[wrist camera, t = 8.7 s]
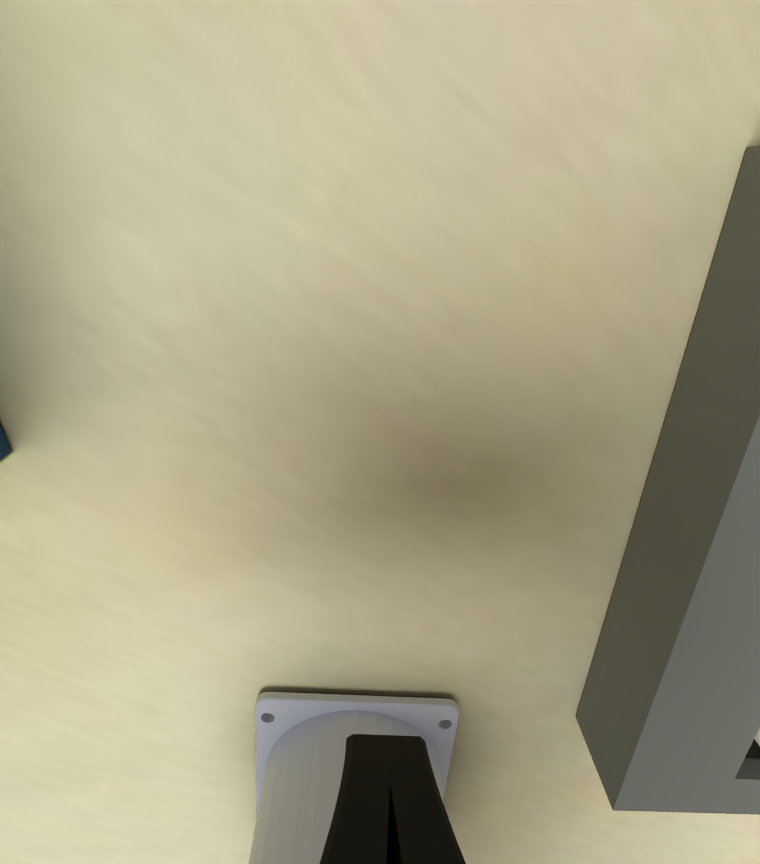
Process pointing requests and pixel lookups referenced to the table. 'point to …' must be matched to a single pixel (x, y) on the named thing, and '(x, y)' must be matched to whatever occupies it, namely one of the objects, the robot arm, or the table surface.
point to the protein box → (3, 447)
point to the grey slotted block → (693, 568)
